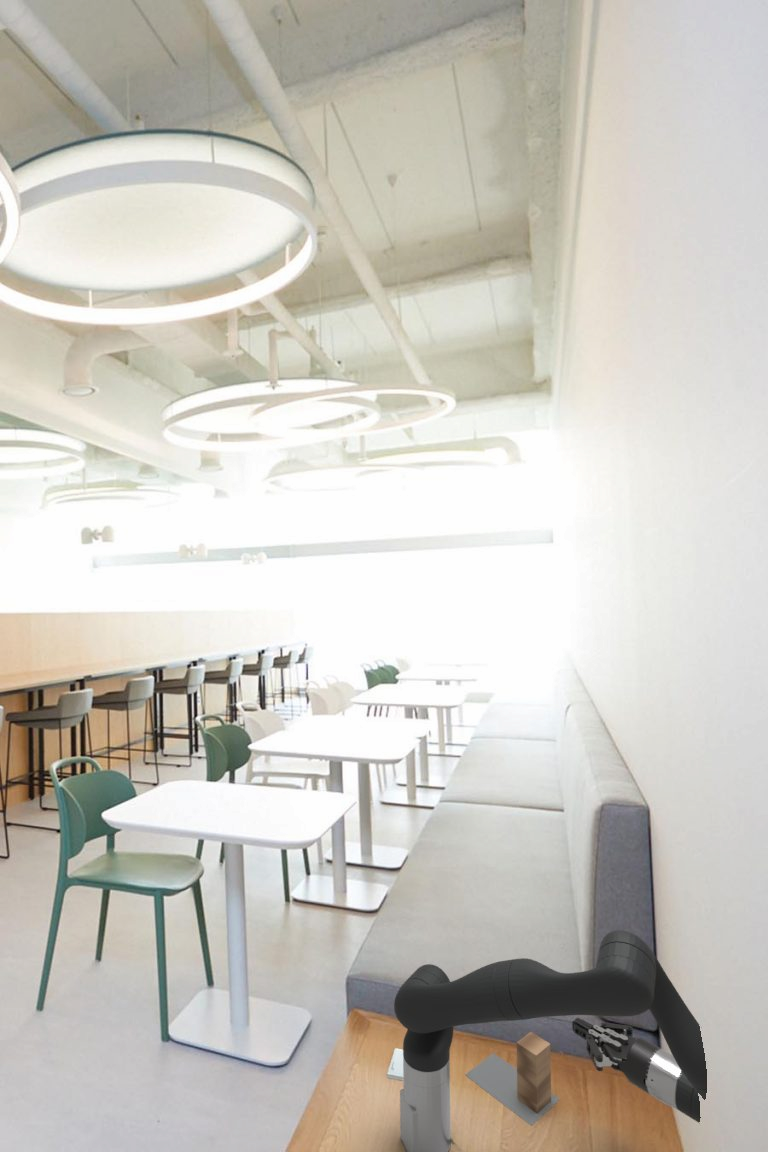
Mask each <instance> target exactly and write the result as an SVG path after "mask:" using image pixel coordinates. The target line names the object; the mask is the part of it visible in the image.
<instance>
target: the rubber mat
mask: <svg viewBox="0 0 768 1152" xmlns="http://www.w3.org/2000/svg"><path fill="white" fill-rule="evenodd" d="M464 1075H465V1077H467V1078H468V1079H470V1080H471V1081H472V1082H474V1083H475V1084H476V1085H477V1086H478V1087H480V1088H481V1089H482V1090H484V1091H485V1092H486V1093H487V1094H489V1095H490V1096H491V1097H493V1098H494V1099H496V1100H497V1101H498V1102H499V1103H501V1104H502V1105H503V1106H504V1107H506V1108H507V1109H508V1110H510V1111H511V1112H513V1113H514V1114H515V1115H516V1116H518V1117H519V1118H521V1119H522V1120H523V1121H524V1122H525V1123H527V1124H528V1125H529V1126H531V1127H533V1126H534V1124H535V1123H537V1122H538V1121H539V1120H540V1119H541V1118H542V1117H543V1116H544V1115H545V1114H546V1113H547V1112H548V1111H550V1110H551V1109H552V1107H554V1106H555V1105H556V1104H557V1103H558V1102H559V1101H560V1098H559V1097H558V1096H556V1095H555V1094H554V1093H552V1092H551V1101H550V1102H549V1103H548V1104H547V1105H546V1106H545V1107H544V1108H543V1109H542V1110H541V1111H540V1112H538V1113H535V1112H534V1111H533V1110H531V1109H530V1108H529V1107H527V1106H526V1105H525V1104H523V1103H522V1102H520V1101H519V1100H518V1099H517V1067H515V1066H513V1065H511V1064H510V1063H509V1062H507V1061H506V1060H505V1059H503V1058H501V1056H499V1055H497V1054H496V1053H495V1052H492V1053H491V1054H490V1055H489V1056H487V1057H486V1058H485V1059H484V1060H482V1061H481V1062H480V1063H478V1064H477V1065H475V1066H474V1067H473V1068H472V1069H471V1070H469V1071H467V1073H465V1074H464Z"/></svg>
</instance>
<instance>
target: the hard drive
mask: <svg viewBox="0 0 768 1152" xmlns="http://www.w3.org/2000/svg"><path fill="white" fill-rule="evenodd" d="M386 1079H390V1080H396V1081H402V1082H404V1078H403V1048H402V1049H401V1048H397V1047H395V1048H394V1051H393V1055H392V1056H391V1061H390V1064H389V1065H388V1069H387V1073H386Z"/></svg>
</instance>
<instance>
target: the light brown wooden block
mask: <svg viewBox="0 0 768 1152" xmlns="http://www.w3.org/2000/svg"><path fill="white" fill-rule="evenodd" d="M551 1056H552V1054H551V1043H550V1042H548V1041H546V1040H545V1039H543V1038H542V1037H540V1036H539V1035H537V1034H535V1033H534V1032H532V1031H529V1032H528V1033H527V1034H525V1036H523V1037H522V1038H521V1039H520V1040H518V1041H516V1069H517V1099H518V1100H519V1101H520V1102H522V1103H523V1104H525V1105H526V1106H527V1107H529V1108H530V1109H531V1110H533V1111H534V1112H535V1113H538V1112H540V1111H541V1110H542V1109H543V1108H544V1107H545V1106H546V1105H547V1104H548V1103H549V1102H550V1101H551V1093H552V1077H551V1076H552V1067H551V1066H552V1064H551V1059H552V1057H551Z"/></svg>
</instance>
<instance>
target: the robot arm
mask: <svg viewBox="0 0 768 1152" xmlns="http://www.w3.org/2000/svg"><path fill="white" fill-rule="evenodd" d="M393 1007H394V1008H393V1009H394V1014H395V1016H396V1018H397V1020H398V1021H399V1023H400V1024H401V1025H402V1027H404V1028H406V1029H407V1031H406V1033H405V1035H404V1038H403V1042H402V1049H403V1078H404V1081H403V1088H401V1089H399V1115H400V1116H399V1117H400V1118H399V1120H400V1121H399V1123H400V1124H399V1125H400V1127H399V1128H400V1132H399V1134H400V1139H401V1141H402V1143H403V1146H404V1148H405V1150H406V1152H449V1151H450V1148H451V1139H452V1137H451V1134H452V1130H451V1084H450V1083H451V1081H450V1080H451V1075H450V1074H451V1072H450V1071H451V1069H450V1068H451V1063H450V1061H451V1059H450V1057H451V1056H450V1054H451V1053H450V1051H451V1045H452V1042H453V1038H454V1037H453V1036H454V1027H458V1026H463V1025H465V1026H466V1025H474V1024H475V1025H476V1024H478V1025H479V1024H486V1023H488V1024H489V1023H496V1022H509V1021H510V1022H512V1021H513V1022H514V1021H521V1020H526V1021H527V1020H531V1019H538V1018H549V1017H550V1018H551V1017H565V1016H568V1017H569V1016H597V1017H634V1016H640V1015H641V1014H644V1013H646V1012H648V1010H649V1011H650V1013H651V1015H652V1016H653V1018H654V1020H655V1022H656V1024H657V1025H658V1027H659V1030H660V1031H661V1034H662V1036H663V1038H664V1039H665V1042H666V1045H667V1046H668V1049H669V1051H670V1052H668V1051H666V1050H664V1049H662V1048H661V1047H659V1046H657V1045H656V1044H654V1043H652V1042H650V1041H648V1040H647V1039H646V1038H643V1037H637V1038H636V1037H635V1036H634V1028H633V1026H631V1025H627V1024H620V1023H609V1022H601V1023H600V1025H597V1024H594V1025H593V1024H591V1023H590V1022H588V1021H586V1020H584V1019H583V1018H580V1017H576V1018H575V1019H574V1020H572V1031H573V1033H575V1035H576V1036H579V1037H580V1038H582V1039H583V1040H586V1052H587V1053H588V1055H589V1057H590V1059H591V1062H592V1064H593V1065H594V1067H595V1069H596V1070H597V1071H598V1072H603V1070H604V1067H611V1068H612V1070H614V1071H617V1072H621V1073H623V1075H624V1076H625V1077H626V1080H627V1081H628V1082H629V1083H630V1084H632V1085H634V1086H635V1087H636V1088H638V1089H640V1090H641V1091H643V1092H645V1093H647V1094H649V1095H650V1096H652V1097H653V1098H655V1099H656V1100H658V1101H659V1102H661V1103H663V1104H665V1105H666V1106H668V1107H671V1108H673V1109H675V1110H678V1111H679V1112H680V1113H682V1114H684V1115H685V1116H687V1117H689V1118H690V1119H692V1120H694V1121H695V1122H697V1123H699V1122H700V1118H701V1117H700V1101H699V1096H698V1093H699V1094H700V1095H701V1096H702V1098H703V1099H704V1100H705V1099H706V1093H707V1069H706V1061H705V1053H704V1048H703V1042H702V1037H701V1031H700V1026H701V1025H700V1023H699V1021H697V1019H696V1017H695V1016H694V1015H693V1014H692V1012H691V1010H690V1009H689V1007H688V1006H687V1004H686V1003H685V1001H684V1000H683V998H682V997H681V995H680V993H679V992H678V990H677V989H676V988H675V986H674V984H673V983H672V981H671V979H670V978H669V977H668V975H667V973H666V971H665V969H664V968H663V966H662V965H661V963H660V961H659V959H658V958H657V957H656V955H655V954H654V952H653V951H652V949H651V948H650V946H649V945H648V944H647V943H646V942H645V941H644V940H643V939H642V938H641V937H639V936H638V935H636V934H634V933H632V932H630V931H627V930H612V931H610V932H608V933H607V934H605V936H603V938H602V940H601V942H600V945H599V950H598V953H597V959H596V965H595V967H594V968H592V969H589V970H584V971H578V972H570V973H568V972H566V973H565V972H560V971H556V970H554V968H553V969H552V968H551V967H549V966H548V965H545V964H544V963H541V962H539V961H537V960H534V959H531V958H514V959H507V960H501V961H496V962H492V963H490V964H486V965H485V966H481V967H480V968H477V969H475V970H473V971H471V972H470V973H467V974H466V975H463V976H461V977H458V978H457V979H455V980H452V981H451V980H450V978H449V976H448V975H447V974H446V972H445V971H444V970H443V969H441V967H439V966H437V965H436V964H430V963H429V964H423V965H421V966H420V967H418V968H416V970H415V971H414V972H413V973H412V974H411V975H409V977H408V978H407V979H406V980H405V981H404V982H403V983H402V984H401V986H400V987H399V988H398V990H397V993H396V994H395V998H394V1002H393ZM699 1025H700V1026H699ZM699 1124H700V1123H699Z"/></svg>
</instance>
